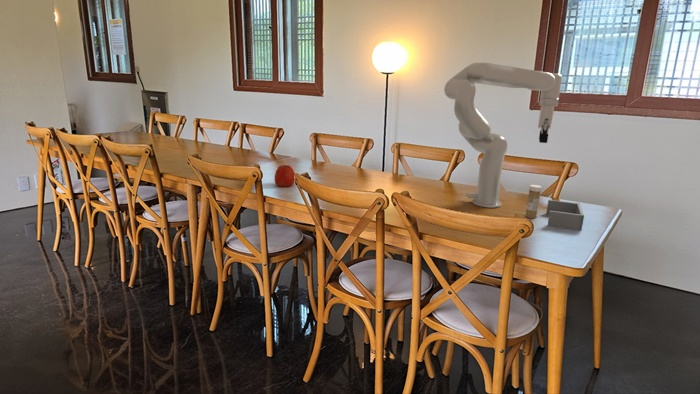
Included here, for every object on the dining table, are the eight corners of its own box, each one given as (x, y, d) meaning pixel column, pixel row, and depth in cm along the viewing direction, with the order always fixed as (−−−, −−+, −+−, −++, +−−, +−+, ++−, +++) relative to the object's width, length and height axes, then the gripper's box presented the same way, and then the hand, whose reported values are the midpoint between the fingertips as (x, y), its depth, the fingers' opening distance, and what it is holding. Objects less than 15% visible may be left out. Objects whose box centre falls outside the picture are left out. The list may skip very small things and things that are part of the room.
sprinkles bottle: (523, 215, 186) (527, 184, 182) (533, 215, 187) (538, 184, 183) (528, 218, 182) (533, 187, 178) (538, 218, 182) (543, 187, 179)
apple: (292, 182, 228) (292, 162, 225) (297, 187, 219) (297, 166, 216) (272, 183, 224) (272, 163, 221) (277, 188, 215) (276, 167, 212)
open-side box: (547, 225, 174) (549, 211, 172) (546, 213, 190) (548, 199, 188) (581, 230, 170) (584, 215, 168) (577, 217, 186) (579, 203, 184)
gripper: (539, 101, 204) (533, 138, 208) (539, 103, 188) (533, 143, 193) (557, 101, 201) (551, 139, 206) (559, 104, 185) (552, 144, 190)
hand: (542, 141), depth 199 cm, fingers open, 9 cm apart
